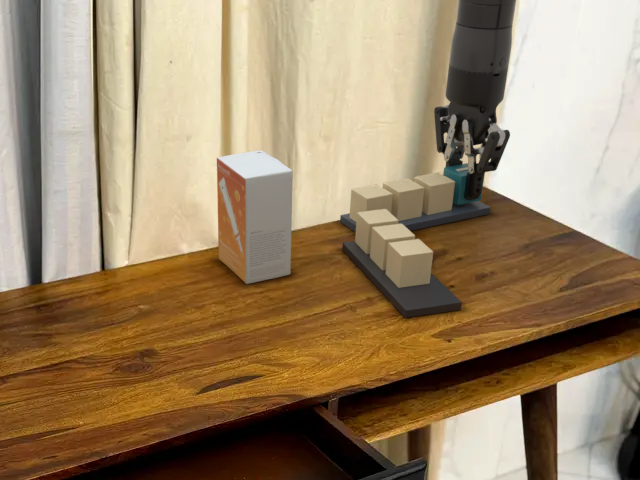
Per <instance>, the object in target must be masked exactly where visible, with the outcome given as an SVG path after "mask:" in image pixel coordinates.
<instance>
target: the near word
mask: <svg viewBox="0 0 640 480" xmlns="http://www.w3.org/2000/svg"><path fill="white" fill-rule="evenodd" d="M354 238H355V239H354V240H352V241H351V240H350V241H344V242H342V244H341V245H342V246H341V247H342V248H341V250H342V251H343V252H344V253H345V254H346V256H347V257H348V258H349V259H350V260H351V261H352V262H353V263H354V264H355V265H356V266H357V268H358V269H360V271H361V272H362V273H363V274H364V275H365V276H366V278H368V280H370V282H371V283H372V284H373V285H374V286H375V287H376V288H377V290H379V291H380V292H381V294H382V295H384V297H385V298H386V299H387V300H388V301H389V302H390V303H391V304H392V306H394V307H395V309H396V310H397V311H398V312H399V313H400V314H401V315H402V316H403V318H405V319H409V318H416V317H423V316H429V315H434V314H435V315H436V314H443V313H448V312H455V311H461V310H462V303H463V302H462V301H461V300H460V299H459V298H458V297H457V296H456V295H455V294H454V293H453V292H452V291H451V290H450V289H449V288H448V287H447V286H446V285H445V284H443V283H442V281H441V280H439V278H437V277H436V276H435V275H434V274H433V273H432V266H433V259H434V258H433V257H434V250H433V249H431V248H430V247H428V245H426V244H425V243H424V242H423V241H422V240H421V239H420V238H416V234H414V233H413V232H412V231H410V230H409V229H407V228H406V227H405V226H404V225H403V224H398V219H396V218H395V217H394V216H393V215H392V214H391V213H390V212H389V211H388V210H387V209H381V210H372V211H364V212H357V220H356V232H355V237H354Z"/></svg>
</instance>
